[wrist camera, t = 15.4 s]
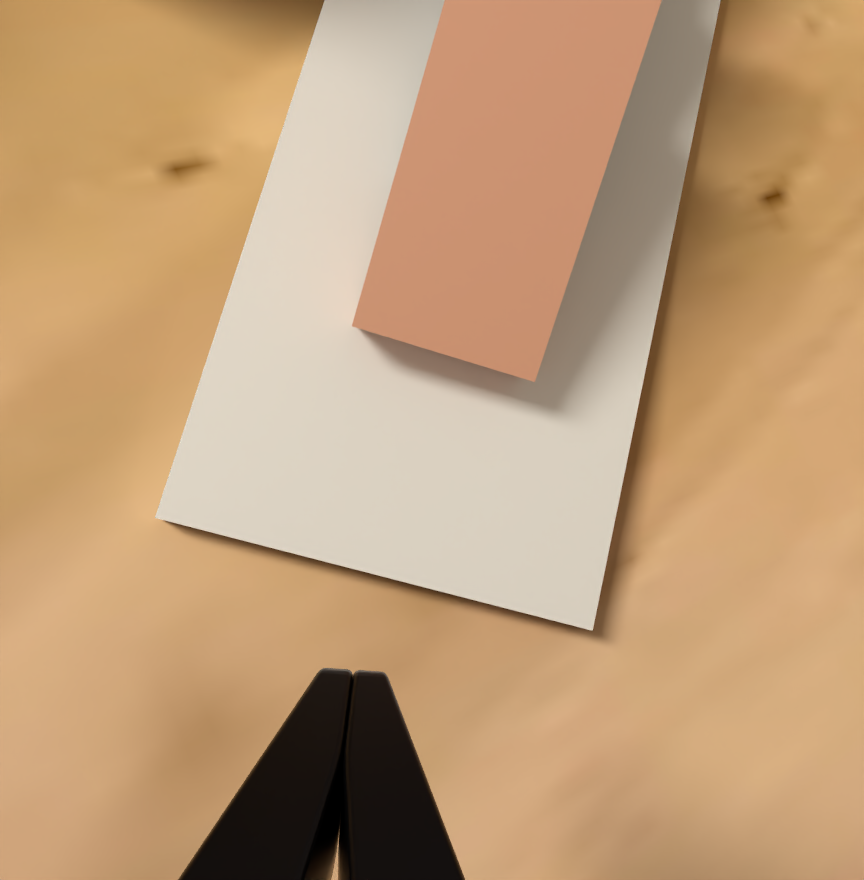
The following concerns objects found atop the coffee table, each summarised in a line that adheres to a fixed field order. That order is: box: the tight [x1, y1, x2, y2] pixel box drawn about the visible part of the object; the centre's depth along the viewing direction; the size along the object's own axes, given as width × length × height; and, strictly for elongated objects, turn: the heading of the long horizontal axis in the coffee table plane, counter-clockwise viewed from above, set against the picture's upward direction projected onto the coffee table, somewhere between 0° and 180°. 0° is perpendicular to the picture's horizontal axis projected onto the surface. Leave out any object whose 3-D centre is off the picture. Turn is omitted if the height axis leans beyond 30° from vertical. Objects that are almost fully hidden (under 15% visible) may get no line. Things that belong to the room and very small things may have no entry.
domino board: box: [155, 0, 721, 631], centre depth 22 cm, size 24×12×1 cm, turn 166°
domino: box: [352, 0, 662, 382], centre depth 19 cm, size 2×5×10 cm
